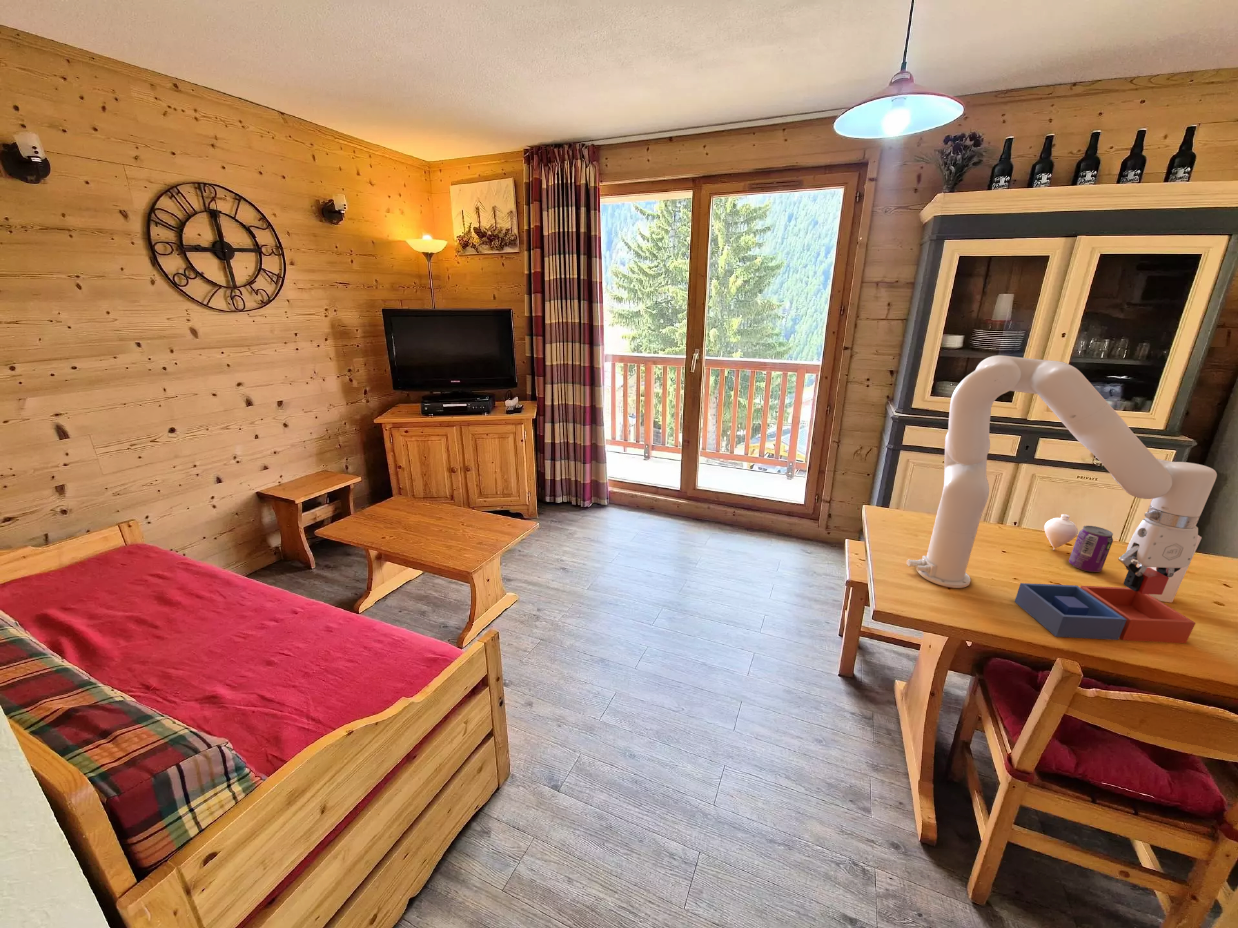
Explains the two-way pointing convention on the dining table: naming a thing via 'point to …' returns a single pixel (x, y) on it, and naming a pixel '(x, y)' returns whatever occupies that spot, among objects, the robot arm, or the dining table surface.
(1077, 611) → the blue block
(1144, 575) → the red block
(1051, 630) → the blue bin
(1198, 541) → the milk
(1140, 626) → the red bin
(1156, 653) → the dining table surface
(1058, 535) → the spinning top
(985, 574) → the dining table surface
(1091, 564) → the beverage can
